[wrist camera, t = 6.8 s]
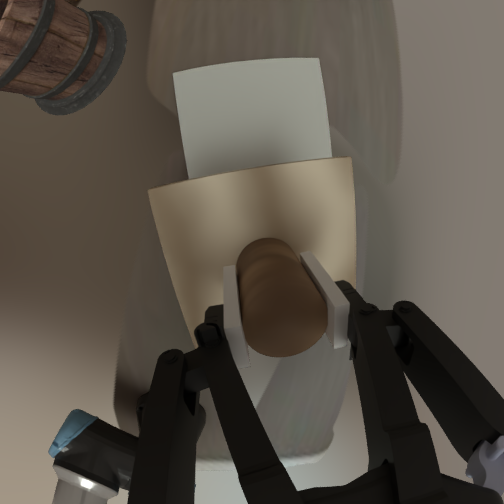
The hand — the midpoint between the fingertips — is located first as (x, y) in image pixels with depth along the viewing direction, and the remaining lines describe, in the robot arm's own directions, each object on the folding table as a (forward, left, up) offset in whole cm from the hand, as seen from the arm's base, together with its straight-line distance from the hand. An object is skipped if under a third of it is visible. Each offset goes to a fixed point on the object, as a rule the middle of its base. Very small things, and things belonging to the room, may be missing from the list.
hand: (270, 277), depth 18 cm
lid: (0, 0, -3) cm, 3 cm away
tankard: (-21, +30, -18) cm, 41 cm away
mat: (+2, +10, -18) cm, 21 cm away
